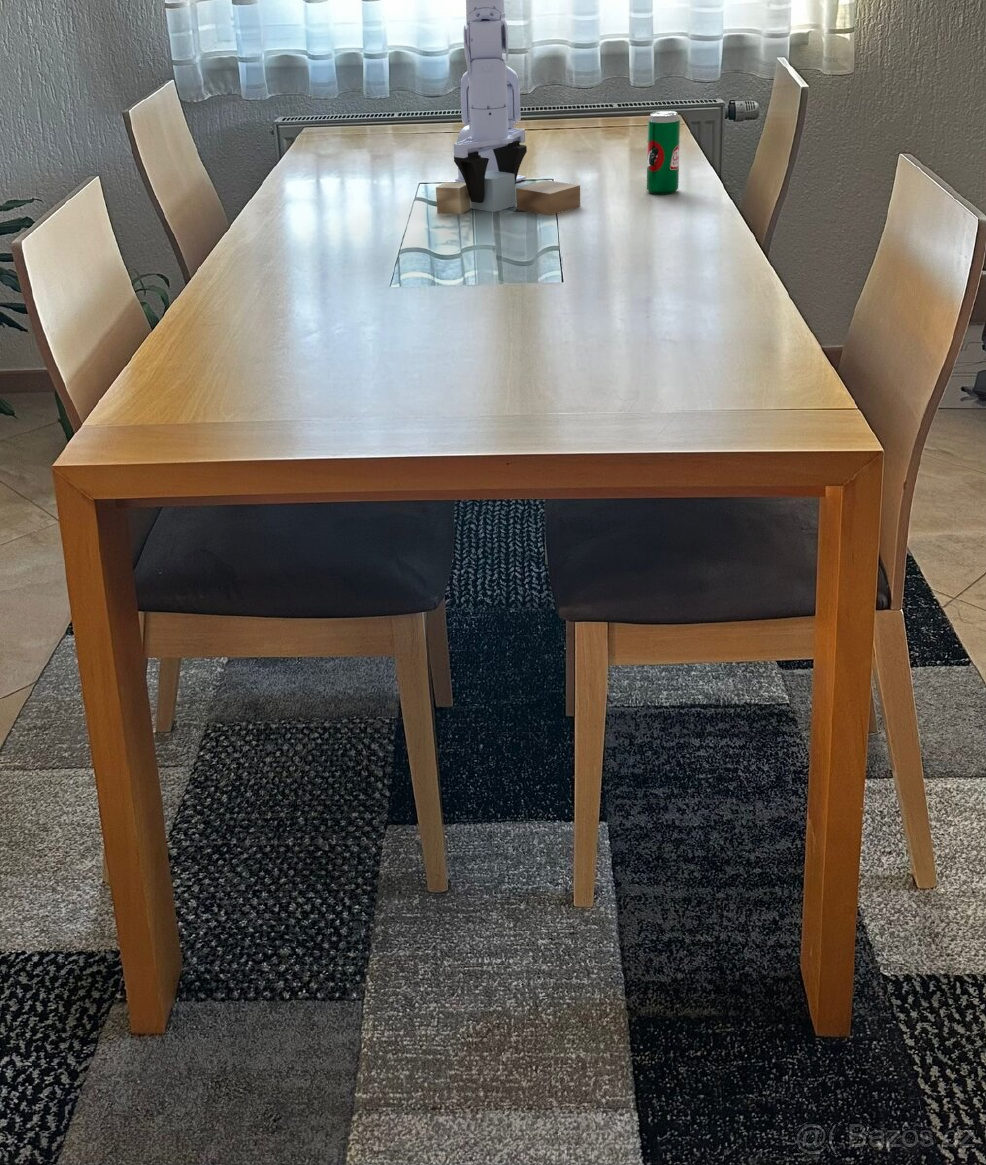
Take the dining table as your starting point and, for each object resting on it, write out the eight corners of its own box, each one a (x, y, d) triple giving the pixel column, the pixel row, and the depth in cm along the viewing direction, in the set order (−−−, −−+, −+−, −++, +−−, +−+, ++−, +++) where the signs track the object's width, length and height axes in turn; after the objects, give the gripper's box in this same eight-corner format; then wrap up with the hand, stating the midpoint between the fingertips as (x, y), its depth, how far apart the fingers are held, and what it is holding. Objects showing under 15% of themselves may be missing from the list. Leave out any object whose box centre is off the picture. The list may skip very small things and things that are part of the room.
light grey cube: (470, 208, 203) (469, 175, 200) (492, 202, 206) (491, 170, 203) (493, 212, 200) (492, 179, 197) (515, 206, 203) (514, 173, 200)
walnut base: (516, 211, 201) (516, 188, 199) (546, 202, 205) (546, 179, 203) (550, 217, 196) (550, 193, 195) (580, 208, 201) (580, 185, 199)
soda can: (677, 195, 204) (679, 115, 198) (645, 195, 205) (646, 116, 199) (679, 188, 208) (681, 110, 203) (648, 188, 209) (649, 110, 204)
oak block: (437, 213, 201) (435, 187, 199) (447, 207, 204) (445, 181, 202) (461, 214, 199) (459, 188, 197) (470, 208, 202) (469, 182, 200)
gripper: (476, 115, 188) (480, 209, 195) (539, 100, 198) (541, 191, 204) (441, 111, 192) (446, 204, 199) (504, 97, 202) (507, 186, 208)
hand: (492, 197), depth 202 cm, fingers open, 7 cm apart
